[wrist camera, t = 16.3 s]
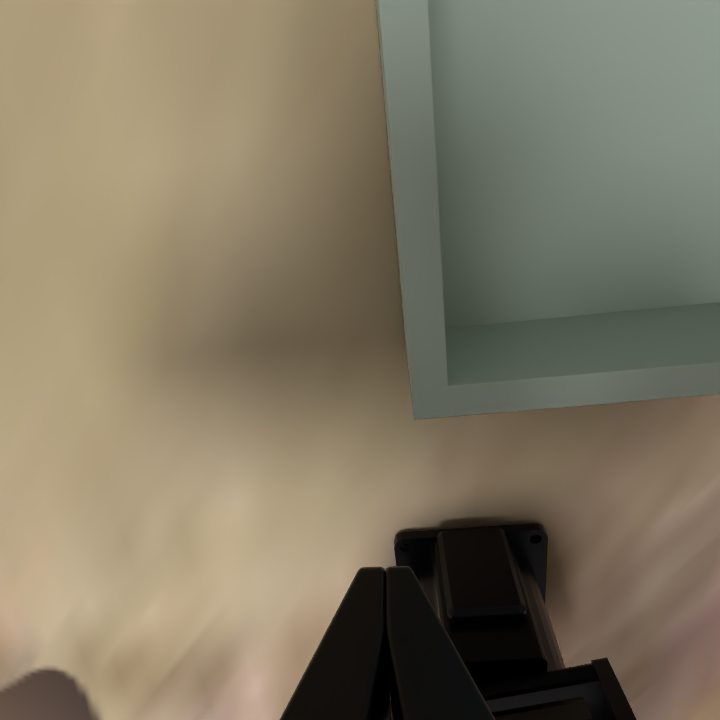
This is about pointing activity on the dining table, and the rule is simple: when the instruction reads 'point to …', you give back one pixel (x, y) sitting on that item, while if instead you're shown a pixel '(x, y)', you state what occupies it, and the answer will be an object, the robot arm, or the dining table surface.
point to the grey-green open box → (555, 199)
